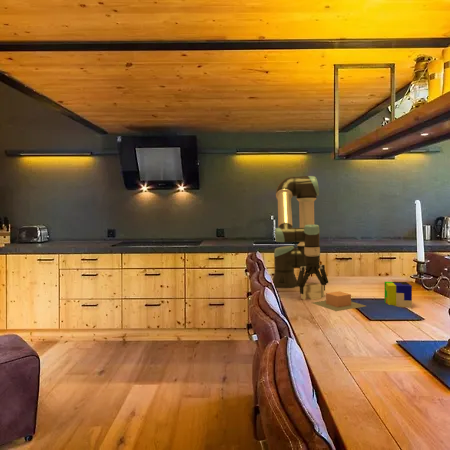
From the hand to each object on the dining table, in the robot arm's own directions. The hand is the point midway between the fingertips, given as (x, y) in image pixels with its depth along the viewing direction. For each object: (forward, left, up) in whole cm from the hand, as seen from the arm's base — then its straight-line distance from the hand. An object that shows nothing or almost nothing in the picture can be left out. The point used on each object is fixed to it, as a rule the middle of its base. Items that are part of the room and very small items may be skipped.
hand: (312, 298), depth 206 cm
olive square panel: (+17, +2, 0) cm, 17 cm away
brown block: (0, 0, -1) cm, 1 cm away
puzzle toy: (+28, +28, -1) cm, 40 cm away
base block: (+17, +2, +1) cm, 17 cm away
